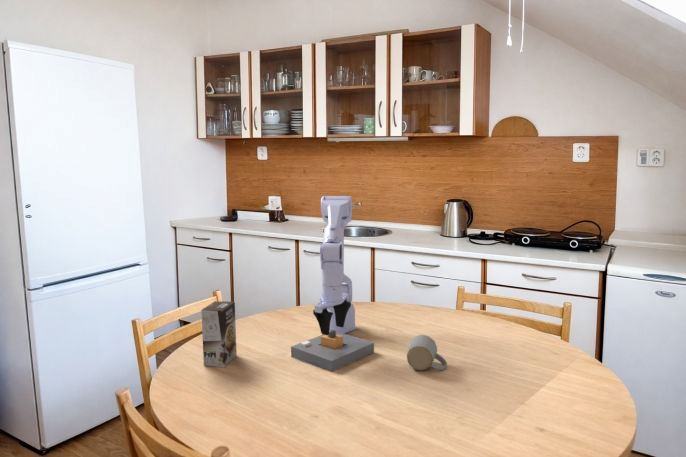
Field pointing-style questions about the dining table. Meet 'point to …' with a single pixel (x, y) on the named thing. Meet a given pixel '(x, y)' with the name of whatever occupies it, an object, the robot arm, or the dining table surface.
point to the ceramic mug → (424, 354)
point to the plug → (332, 340)
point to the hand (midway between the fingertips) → (332, 330)
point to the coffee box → (219, 333)
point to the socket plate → (332, 352)
